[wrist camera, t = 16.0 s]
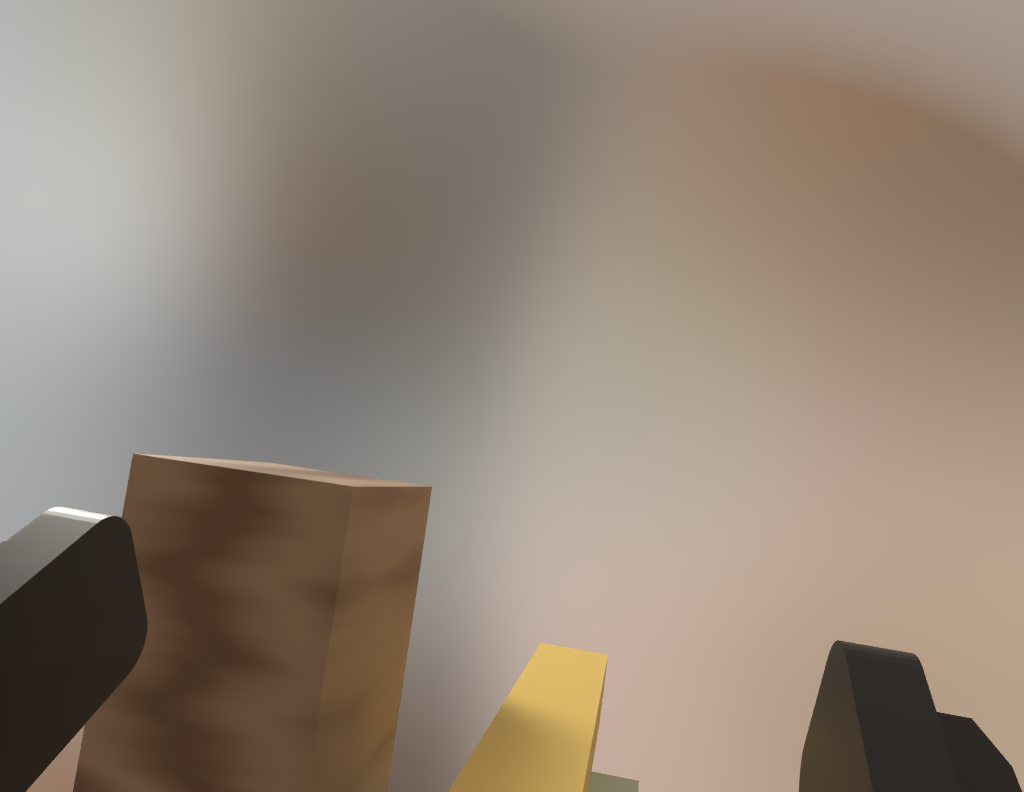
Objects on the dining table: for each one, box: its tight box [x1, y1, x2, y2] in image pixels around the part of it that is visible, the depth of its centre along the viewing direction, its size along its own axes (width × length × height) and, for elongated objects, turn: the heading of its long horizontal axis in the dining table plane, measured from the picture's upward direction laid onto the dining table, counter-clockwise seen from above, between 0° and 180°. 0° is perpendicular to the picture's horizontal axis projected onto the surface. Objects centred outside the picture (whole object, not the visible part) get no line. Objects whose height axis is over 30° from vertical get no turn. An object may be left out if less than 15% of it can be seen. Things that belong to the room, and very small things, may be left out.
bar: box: [449, 643, 608, 792], centre depth 30 cm, size 4×26×4 cm, turn 171°
